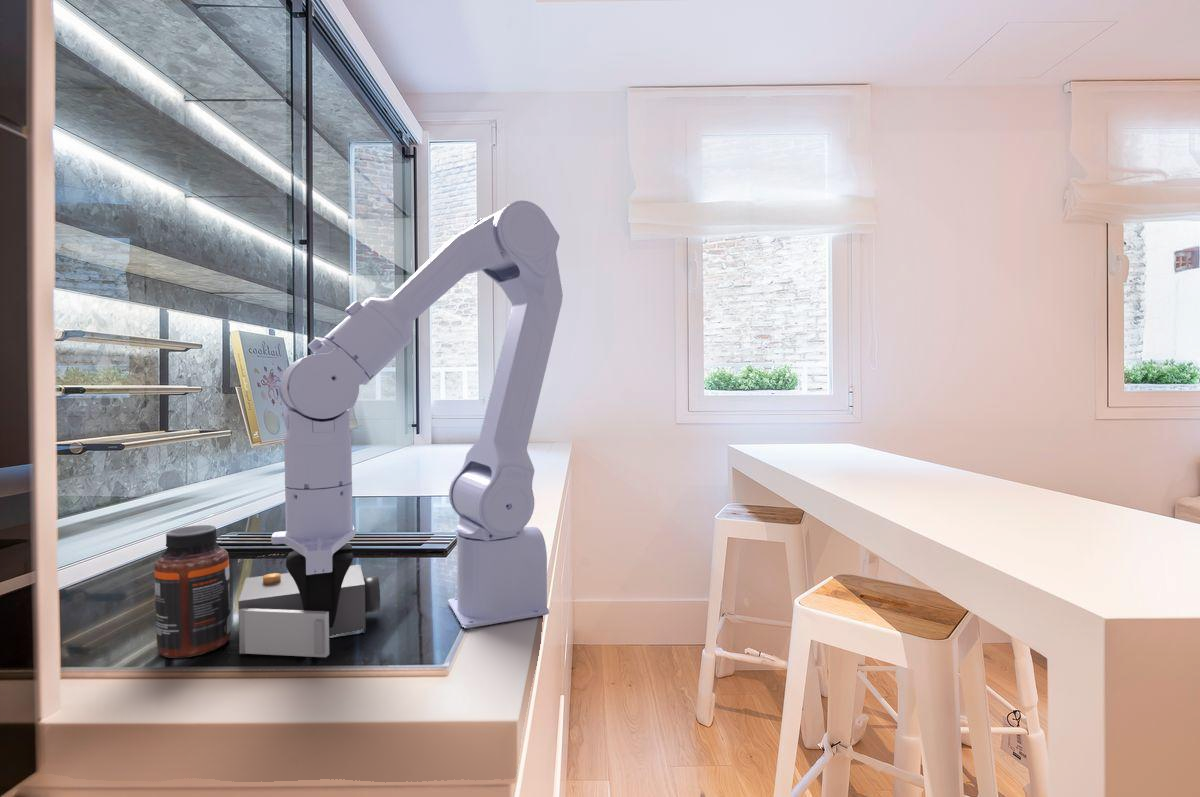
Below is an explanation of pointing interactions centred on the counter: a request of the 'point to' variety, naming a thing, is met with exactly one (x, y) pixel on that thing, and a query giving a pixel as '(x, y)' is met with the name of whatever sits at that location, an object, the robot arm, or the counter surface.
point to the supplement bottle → (192, 593)
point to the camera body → (285, 595)
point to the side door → (284, 632)
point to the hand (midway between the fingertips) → (321, 626)
